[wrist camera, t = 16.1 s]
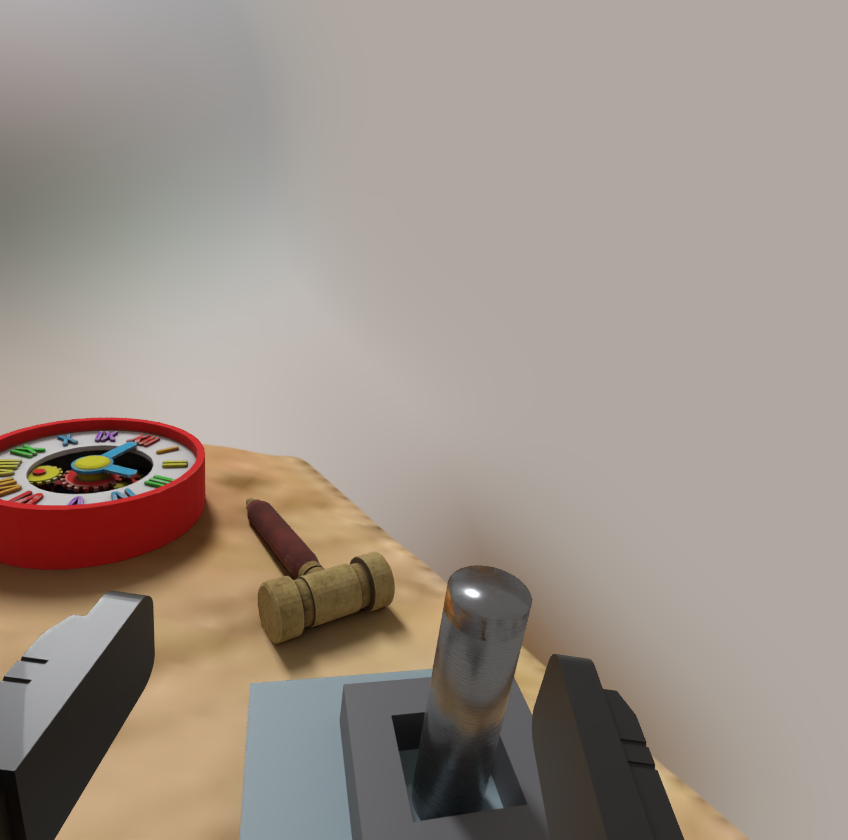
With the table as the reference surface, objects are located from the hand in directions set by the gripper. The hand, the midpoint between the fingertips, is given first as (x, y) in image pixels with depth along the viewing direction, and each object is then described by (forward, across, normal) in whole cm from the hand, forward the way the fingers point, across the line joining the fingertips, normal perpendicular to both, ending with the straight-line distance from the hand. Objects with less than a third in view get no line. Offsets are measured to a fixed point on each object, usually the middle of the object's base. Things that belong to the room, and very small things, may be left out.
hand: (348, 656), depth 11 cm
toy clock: (+38, +28, +25) cm, 53 cm away
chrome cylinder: (+12, -6, +22) cm, 26 cm away
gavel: (+34, +8, +24) cm, 42 cm away
